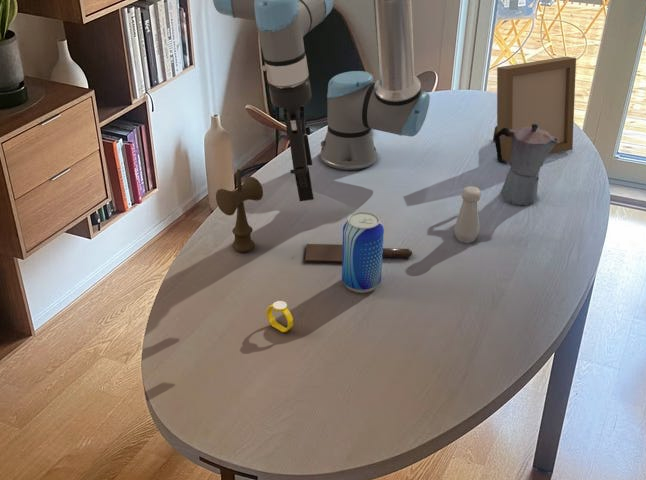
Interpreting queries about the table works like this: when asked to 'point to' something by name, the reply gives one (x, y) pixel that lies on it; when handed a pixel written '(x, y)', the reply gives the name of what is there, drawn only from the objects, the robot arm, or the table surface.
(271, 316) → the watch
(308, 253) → the spatula
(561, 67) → the photo frame
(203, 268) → the table surface
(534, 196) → the moka pot
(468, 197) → the salt shaker
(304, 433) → the table surface
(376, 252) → the beer can
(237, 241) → the kendama
